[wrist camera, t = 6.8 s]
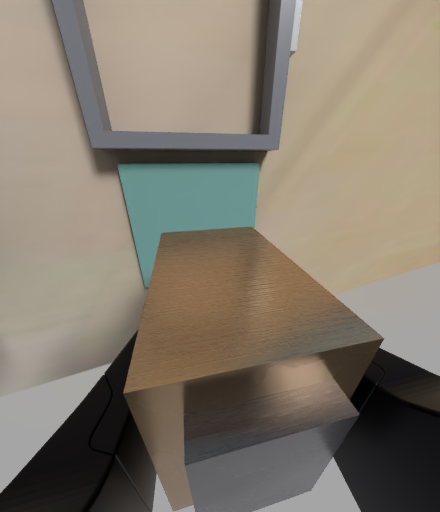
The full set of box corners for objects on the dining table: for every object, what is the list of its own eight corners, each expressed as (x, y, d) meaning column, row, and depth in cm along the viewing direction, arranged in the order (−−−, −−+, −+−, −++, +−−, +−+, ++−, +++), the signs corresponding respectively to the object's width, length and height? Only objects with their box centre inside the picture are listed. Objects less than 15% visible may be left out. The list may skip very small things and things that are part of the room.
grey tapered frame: (102, 149, 15) (92, 147, 13) (-13, -308, 7) (-71, -453, 6) (274, 150, 17) (285, 149, 15) (311, -189, 10) (340, -265, 8)
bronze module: (175, 324, 11) (172, 549, 5) (161, 232, 9) (110, 450, 2) (245, 314, 12) (325, 493, 6) (251, 226, 10) (420, 370, 3)
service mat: (146, 284, 21) (145, 287, 20) (119, 163, 15) (117, 163, 15) (248, 272, 23) (250, 275, 22) (257, 163, 17) (259, 163, 17)
